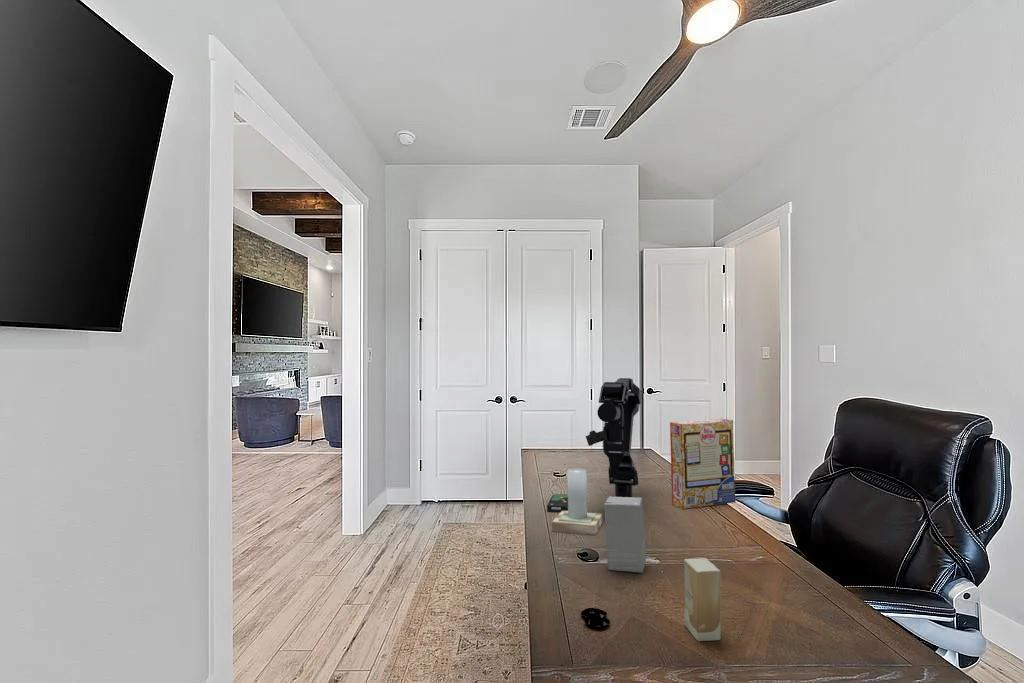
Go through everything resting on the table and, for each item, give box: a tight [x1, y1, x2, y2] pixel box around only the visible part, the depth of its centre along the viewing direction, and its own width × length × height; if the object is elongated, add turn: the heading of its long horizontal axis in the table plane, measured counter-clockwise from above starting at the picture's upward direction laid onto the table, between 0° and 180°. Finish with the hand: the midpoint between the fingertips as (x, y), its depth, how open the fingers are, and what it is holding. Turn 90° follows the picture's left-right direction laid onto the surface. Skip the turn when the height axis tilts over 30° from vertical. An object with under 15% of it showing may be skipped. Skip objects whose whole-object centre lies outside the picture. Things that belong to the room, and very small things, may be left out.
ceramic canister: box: [566, 467, 589, 519], centre depth 165 cm, size 6×6×13 cm
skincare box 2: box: [683, 557, 722, 642], centre depth 103 cm, size 6×4×12 cm
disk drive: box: [546, 493, 568, 514], centre depth 186 cm, size 10×3×15 cm
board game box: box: [669, 417, 736, 510], centre depth 187 cm, size 20×6×27 cm, turn 108°
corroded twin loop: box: [580, 607, 611, 631], centre depth 108 cm, size 5×8×1 cm, turn 3°
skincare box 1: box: [603, 495, 647, 574], centre depth 134 cm, size 8×7×16 cm
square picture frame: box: [551, 510, 603, 536], centre depth 165 cm, size 12×12×3 cm
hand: (613, 474), depth 175 cm, fingers open, 9 cm apart
